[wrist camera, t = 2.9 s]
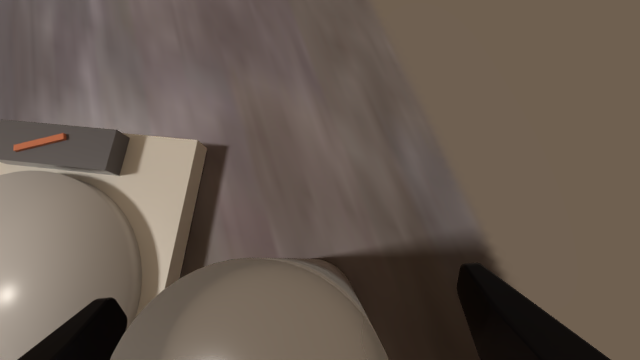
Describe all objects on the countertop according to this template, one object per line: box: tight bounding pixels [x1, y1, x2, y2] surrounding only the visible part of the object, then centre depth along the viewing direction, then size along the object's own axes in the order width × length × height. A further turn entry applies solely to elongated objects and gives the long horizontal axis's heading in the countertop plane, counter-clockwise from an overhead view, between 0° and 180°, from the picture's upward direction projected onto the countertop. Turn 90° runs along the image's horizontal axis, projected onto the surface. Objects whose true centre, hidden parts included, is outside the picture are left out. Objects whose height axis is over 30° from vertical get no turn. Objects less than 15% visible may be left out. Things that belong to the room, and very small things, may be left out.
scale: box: [0, 119, 207, 360], centre depth 14 cm, size 16×13×2 cm
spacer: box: [110, 258, 389, 360], centre depth 9 cm, size 4×4×11 cm
